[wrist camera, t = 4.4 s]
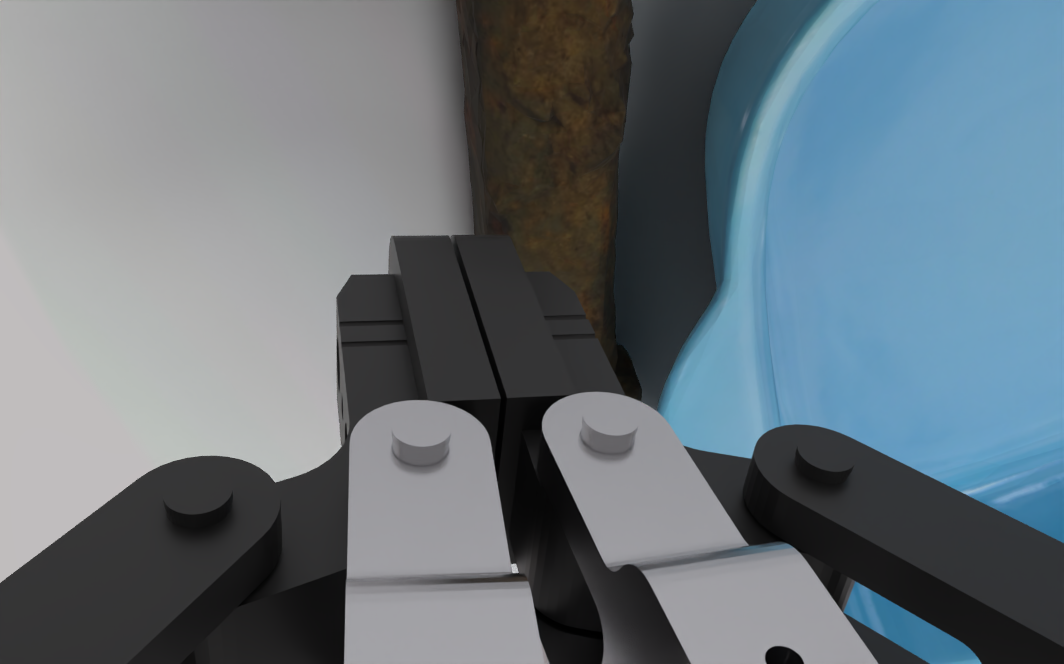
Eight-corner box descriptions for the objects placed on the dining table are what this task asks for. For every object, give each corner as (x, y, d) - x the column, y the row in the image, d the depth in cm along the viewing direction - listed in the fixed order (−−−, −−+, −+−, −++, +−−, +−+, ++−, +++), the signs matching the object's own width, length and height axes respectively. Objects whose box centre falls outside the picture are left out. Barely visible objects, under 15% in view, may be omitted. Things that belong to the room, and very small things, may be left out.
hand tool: (429, -205, 15) (728, -216, 15) (407, -232, 18) (655, -240, 19) (482, 628, 26) (657, 601, 26) (462, 518, 29) (618, 496, 29)
